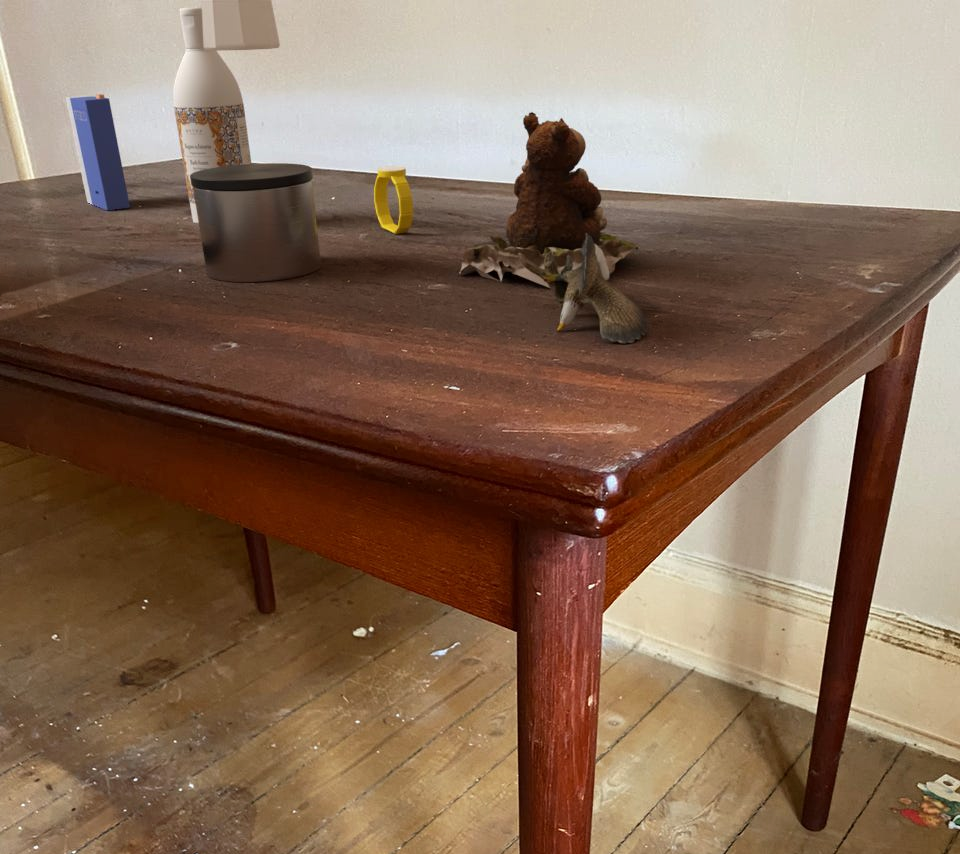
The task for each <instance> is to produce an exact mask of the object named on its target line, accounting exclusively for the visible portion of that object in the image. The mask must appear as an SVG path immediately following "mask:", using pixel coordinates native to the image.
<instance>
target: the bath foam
mask: <svg viewBox="0 0 960 854" xmlns="http://www.w3.org/2000/svg"><path fill="white" fill-rule="evenodd" d="M179 16H180V23H181V30H182V36H183V41H184V47H185V52H184V55H183V57H182V59H181V62H180V64H179V66H178V70H177V72H176V76H175V78H174V79H175V80H174V83H173V92H172V93H173V94H172V95H173V97H172V98H173V99H172V100H173V109H174V115H175V122H176V128H177V129H176V130H177V133H178V141H179V147H180V152H181V159H182V165H183V170H184V177H185V183H186V187H187V188H186V189H187V195H188V201H189V206H190V212H191V218H192V223H194V224H195V223H196V224H199V222H198V216H197V209H196V203H195V197H194V191H193V187H192V185H191V180H190V175H191V174H192V173H194V172H197V171H200V170H205V169H210V168H216V167H223V166H232V165H244V164H252V158H251V151H250V142H249V141H250V140H249V133H248V128H247V119H246V112H245V104H244V100H243V99H244V98H243V96H242V91H241V89H240V86H239V83H238V81H237V79H236V77H235V76H234V73H233V72H232V70H231V69H230V67H229V66H228V65H227V63H226V62H225V61H224V59H223V58H222V56H221V55H220V54H219V52H218V51H215V50H205V49H204V45H203V24H202V7H182V8H179Z"/></svg>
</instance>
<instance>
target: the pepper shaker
mask: <svg viewBox="0 0 960 854" xmlns="http://www.w3.org/2000/svg"><path fill="white" fill-rule="evenodd" d="M200 4H201V8H202V24H203V45H204V49H205V50H215V51H217V52H218V51H220V52H221V51H253V50H271V49H280V47H281V43H280V37H279V33H278V28H277V22H276V18H275V13H274V7H273V2H272V0H201V3H200Z"/></svg>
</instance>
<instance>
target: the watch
mask: <svg viewBox="0 0 960 854" xmlns="http://www.w3.org/2000/svg"><path fill="white" fill-rule="evenodd" d="M406 176H407V170H406V167H404V166H401V165H400V166H399V165H398V166H397V165H392V166H391V165H390V166H389V165H388V166H381V167H378V168H377V176H376V178H375V183H374V187H373V188H374V189H373V199H374V200H373V201H374V208H375V214H376V217H377V219H378V222H379V224H380V226H381V228H382V229H384V230H386V231H389V232H390V233H392V234H394V235H400V234H407V233H408V231H409V229H410V228H411V226H412V222H413V217H414V203H413V202H414V201H413V195H412V192H411V188H410V184H409V182H408V180H407V179H406ZM390 179H391V182H392V183H393V185H394V187H395V190H396V195H397V198H398V208H399V210H398V211H399V216H398V222H397V223H398V224H395V222H394V220H393V218H392V216H391V213H390V207H389V202H388V186H389V182H390Z"/></svg>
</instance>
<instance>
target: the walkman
mask: <svg viewBox="0 0 960 854" xmlns="http://www.w3.org/2000/svg"><path fill="white" fill-rule="evenodd" d="M65 102H66V106H67V112H68V116H69V120H70V125H71V126H70V127H71V130H72V136H73V141H74V147H75V151H76V155H77V160H78V165H79V170H80V175H81V179H82V183H83V189H84V193H85V197H86V202H88V203H90V204H89V205H91V204H92V205H91V206H94V205H95V206H94V207H96V206H97V207H96V208H99V207H100V208H99V209H102V210H105V211H107V210H109V211H116V210H115V209H117V210H123V208H124V209H130V208H131V205H130V200H129V195H128V190H127V184H126V178H125V174H124V169H123V164H122V158H121V153H120V149H119V143H118V138H117V132H116V127H115V122H114V117H113V112H112V106H111V102H110V98H107V97H105V94H102V93H99V94H95V95H93V96H92V95H78V96H65ZM88 203H87V204H88ZM129 207H130V208H129Z"/></svg>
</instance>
